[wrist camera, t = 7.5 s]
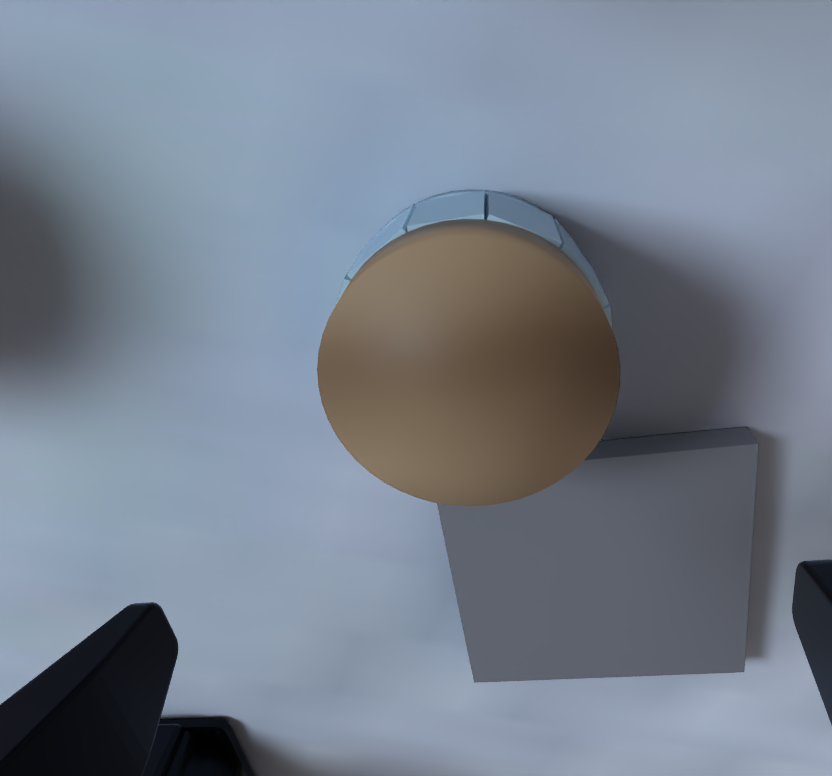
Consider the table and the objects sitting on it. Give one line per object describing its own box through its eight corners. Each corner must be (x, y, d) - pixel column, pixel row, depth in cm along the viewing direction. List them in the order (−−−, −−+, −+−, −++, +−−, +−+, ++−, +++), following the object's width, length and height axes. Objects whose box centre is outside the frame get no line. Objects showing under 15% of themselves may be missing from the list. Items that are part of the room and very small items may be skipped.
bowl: (599, 400, 21) (618, 463, 18) (380, 424, 22) (362, 486, 19) (584, 167, 17) (605, 194, 14) (328, 211, 19) (297, 243, 16)
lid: (615, 457, 17) (626, 493, 16) (364, 482, 19) (355, 517, 17) (600, 194, 14) (611, 210, 13) (300, 244, 16) (281, 264, 14)
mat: (735, 649, 25) (744, 672, 24) (474, 661, 26) (474, 682, 26) (746, 426, 20) (758, 443, 19) (433, 457, 22) (431, 474, 21)
